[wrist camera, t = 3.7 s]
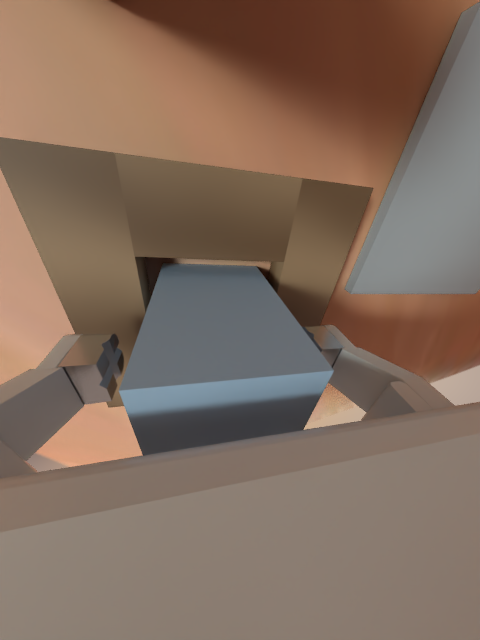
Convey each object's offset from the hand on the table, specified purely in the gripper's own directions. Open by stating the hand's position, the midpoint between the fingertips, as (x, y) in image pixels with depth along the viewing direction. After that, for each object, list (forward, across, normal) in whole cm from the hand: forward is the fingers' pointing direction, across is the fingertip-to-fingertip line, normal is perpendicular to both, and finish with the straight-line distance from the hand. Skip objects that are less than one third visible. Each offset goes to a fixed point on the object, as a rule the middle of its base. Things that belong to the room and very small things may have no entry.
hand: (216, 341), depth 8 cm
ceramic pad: (+3, -13, -6) cm, 15 cm away
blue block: (+3, 0, 0) cm, 3 cm away
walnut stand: (+3, 0, 0) cm, 3 cm away
